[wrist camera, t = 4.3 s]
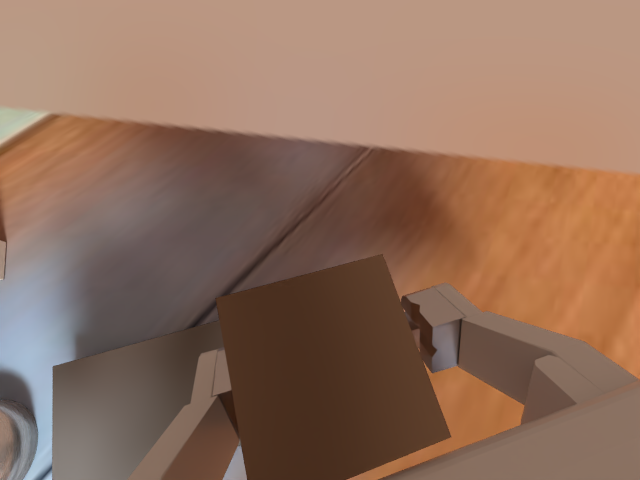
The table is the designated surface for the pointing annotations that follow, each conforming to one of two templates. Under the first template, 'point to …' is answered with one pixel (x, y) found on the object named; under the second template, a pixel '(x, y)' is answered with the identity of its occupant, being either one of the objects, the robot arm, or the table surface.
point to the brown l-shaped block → (264, 383)
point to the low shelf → (2, 258)
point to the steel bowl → (16, 440)
